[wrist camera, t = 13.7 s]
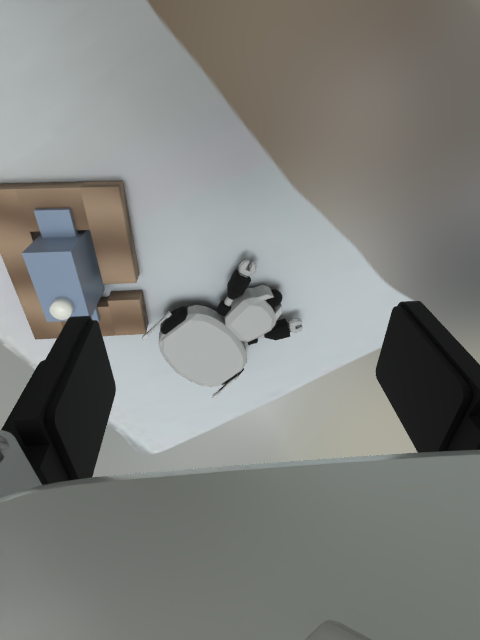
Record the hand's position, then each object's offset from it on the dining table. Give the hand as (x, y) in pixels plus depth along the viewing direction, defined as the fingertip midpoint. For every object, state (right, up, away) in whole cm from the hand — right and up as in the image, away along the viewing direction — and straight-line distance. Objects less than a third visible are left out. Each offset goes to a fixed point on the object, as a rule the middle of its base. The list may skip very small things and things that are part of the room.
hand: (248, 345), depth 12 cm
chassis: (-17, +7, +26) cm, 32 cm away
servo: (-17, +7, +26) cm, 32 cm away
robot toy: (-2, +1, +32) cm, 32 cm away
